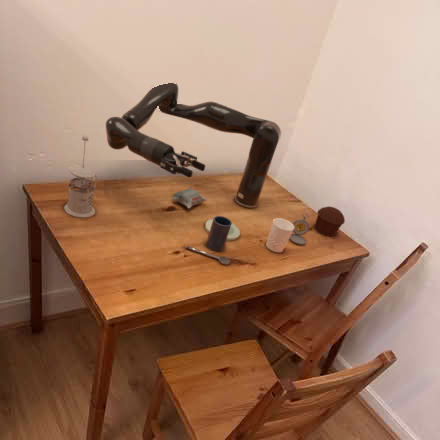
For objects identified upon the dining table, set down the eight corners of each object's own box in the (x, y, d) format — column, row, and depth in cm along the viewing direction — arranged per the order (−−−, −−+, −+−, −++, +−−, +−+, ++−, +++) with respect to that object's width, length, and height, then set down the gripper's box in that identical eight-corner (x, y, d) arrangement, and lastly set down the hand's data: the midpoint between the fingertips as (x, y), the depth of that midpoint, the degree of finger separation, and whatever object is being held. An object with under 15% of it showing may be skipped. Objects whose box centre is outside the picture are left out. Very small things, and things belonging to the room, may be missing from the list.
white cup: (286, 246, 161) (296, 223, 155) (282, 256, 155) (292, 232, 149) (266, 238, 162) (275, 215, 156) (261, 247, 156) (271, 224, 150)
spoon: (186, 245, 144) (187, 242, 143) (230, 260, 144) (231, 258, 143) (183, 250, 141) (184, 248, 140) (228, 266, 141) (229, 264, 140)
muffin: (337, 228, 185) (347, 208, 179) (338, 241, 176) (349, 220, 170) (311, 220, 185) (320, 199, 179) (310, 232, 176) (320, 210, 170)
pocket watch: (294, 246, 163) (305, 223, 157) (283, 233, 168) (292, 211, 162) (311, 245, 167) (321, 223, 161) (299, 233, 173) (308, 211, 167)
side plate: (209, 217, 163) (210, 214, 162) (242, 228, 163) (242, 226, 162) (201, 232, 153) (201, 230, 152) (235, 244, 152) (236, 242, 152)
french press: (57, 208, 140) (60, 133, 125) (79, 197, 149) (85, 125, 134) (83, 220, 139) (89, 145, 124) (104, 208, 148) (112, 137, 133)
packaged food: (206, 205, 170) (209, 193, 167) (187, 212, 161) (190, 201, 158) (188, 195, 173) (191, 184, 170) (169, 202, 164) (172, 190, 161)
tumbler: (208, 238, 151) (215, 214, 145) (225, 244, 151) (233, 220, 145) (204, 247, 146) (211, 221, 140) (221, 253, 146) (229, 228, 140)
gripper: (146, 145, 136) (189, 165, 133) (170, 137, 147) (211, 155, 144) (142, 167, 141) (184, 187, 137) (166, 158, 152) (205, 176, 148)
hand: (198, 171), depth 140 cm, fingers open, 8 cm apart
